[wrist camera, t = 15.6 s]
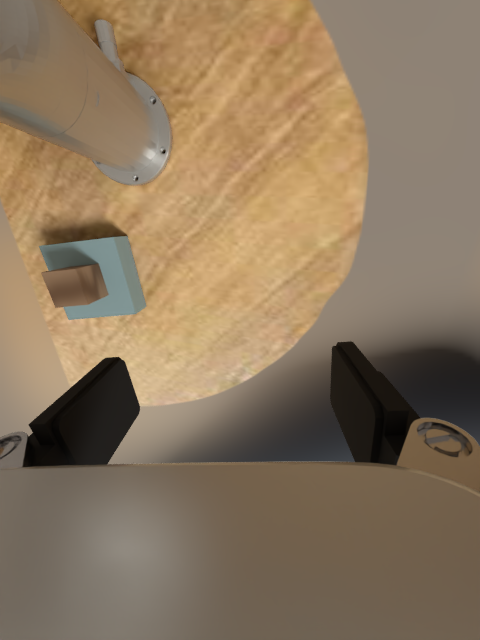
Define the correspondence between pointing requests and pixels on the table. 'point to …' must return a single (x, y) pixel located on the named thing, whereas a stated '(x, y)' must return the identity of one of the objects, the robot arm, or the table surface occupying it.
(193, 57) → the table surface
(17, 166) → the table surface
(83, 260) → the plinth block
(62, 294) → the walnut cube
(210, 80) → the table surface
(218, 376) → the table surface
